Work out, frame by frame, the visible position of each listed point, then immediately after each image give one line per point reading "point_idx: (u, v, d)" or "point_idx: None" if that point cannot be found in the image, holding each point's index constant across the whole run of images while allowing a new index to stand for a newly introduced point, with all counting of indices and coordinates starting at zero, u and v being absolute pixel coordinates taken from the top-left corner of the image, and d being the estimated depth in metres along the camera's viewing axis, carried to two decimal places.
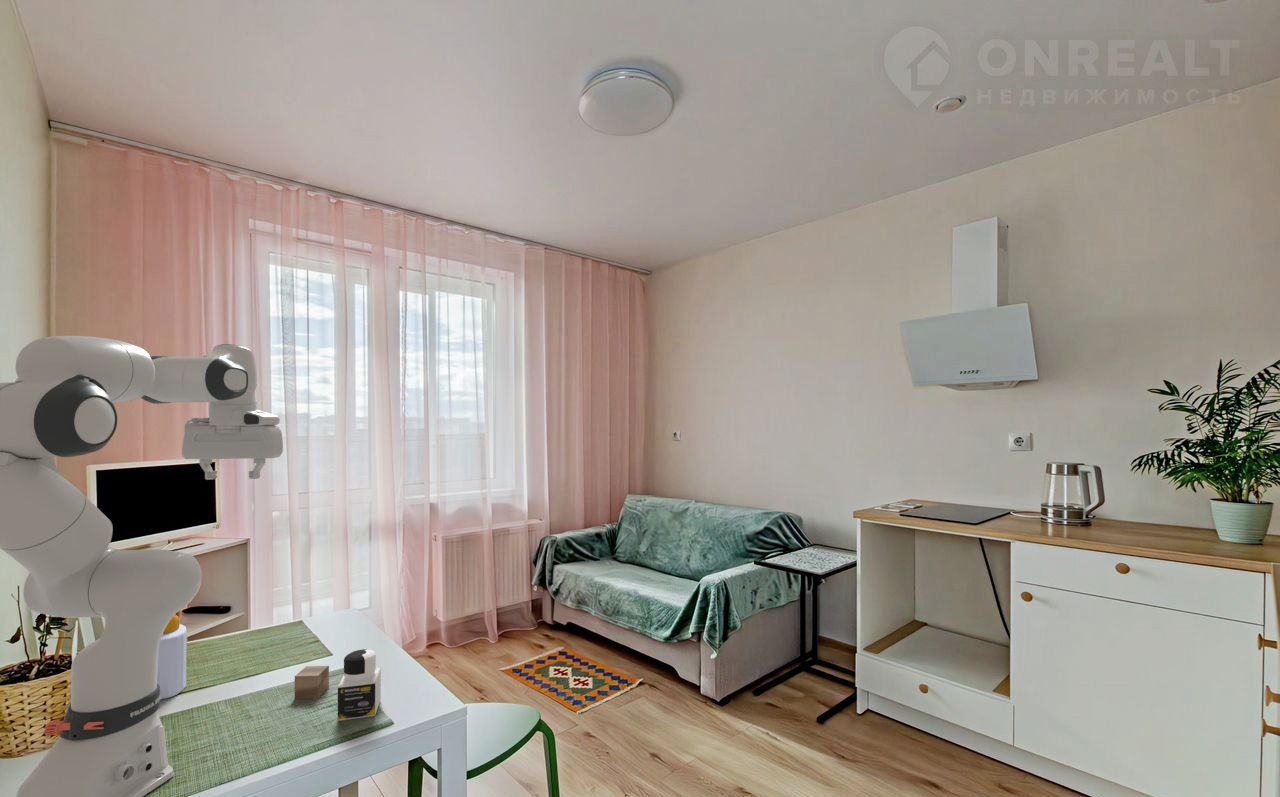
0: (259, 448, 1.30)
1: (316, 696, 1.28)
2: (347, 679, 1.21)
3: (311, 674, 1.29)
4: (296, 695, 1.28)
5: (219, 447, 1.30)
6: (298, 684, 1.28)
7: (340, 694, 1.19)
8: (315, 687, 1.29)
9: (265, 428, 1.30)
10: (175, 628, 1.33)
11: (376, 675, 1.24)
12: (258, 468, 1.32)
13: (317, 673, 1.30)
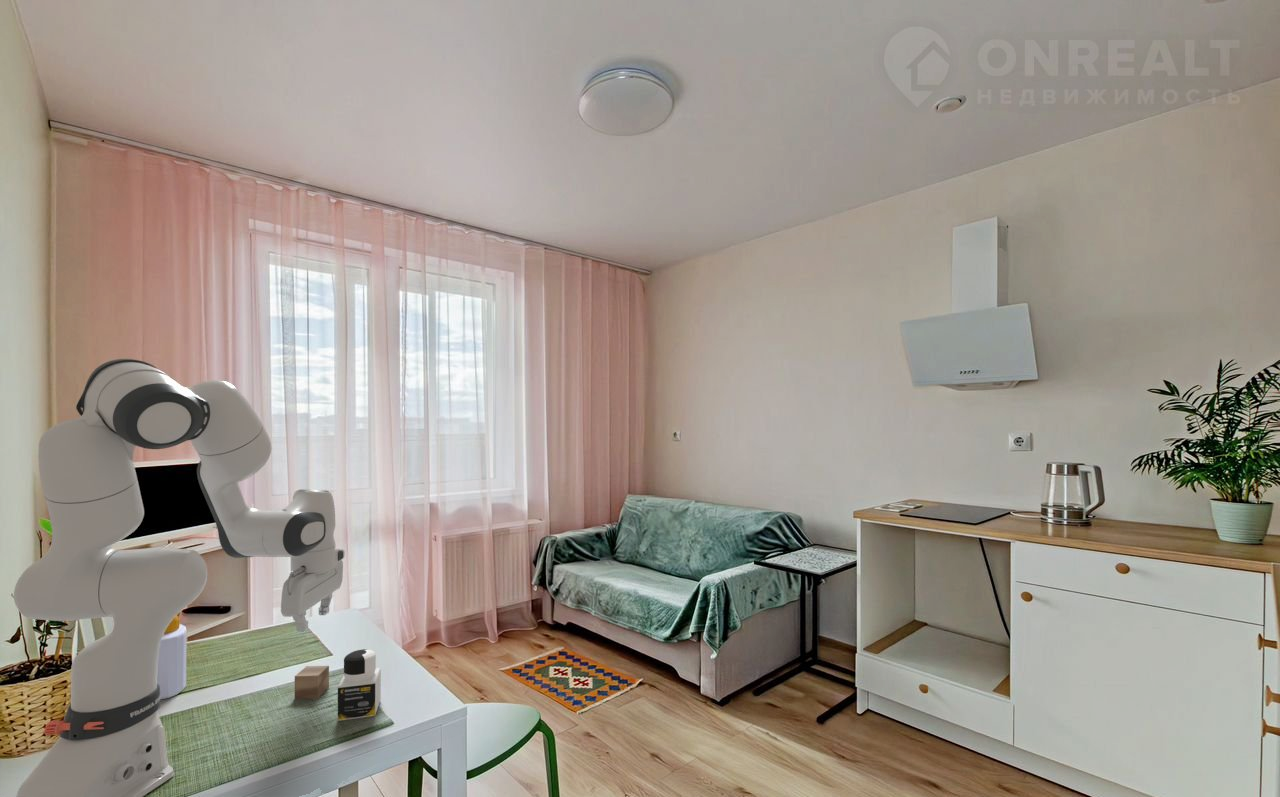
0: (336, 581, 1.38)
1: (316, 696, 1.28)
2: (347, 679, 1.21)
3: (311, 674, 1.29)
4: (296, 695, 1.28)
5: (317, 592, 1.30)
6: (298, 684, 1.28)
7: (340, 694, 1.19)
8: (315, 687, 1.29)
9: None
10: (175, 628, 1.33)
11: (376, 675, 1.23)
12: None
13: (317, 673, 1.30)
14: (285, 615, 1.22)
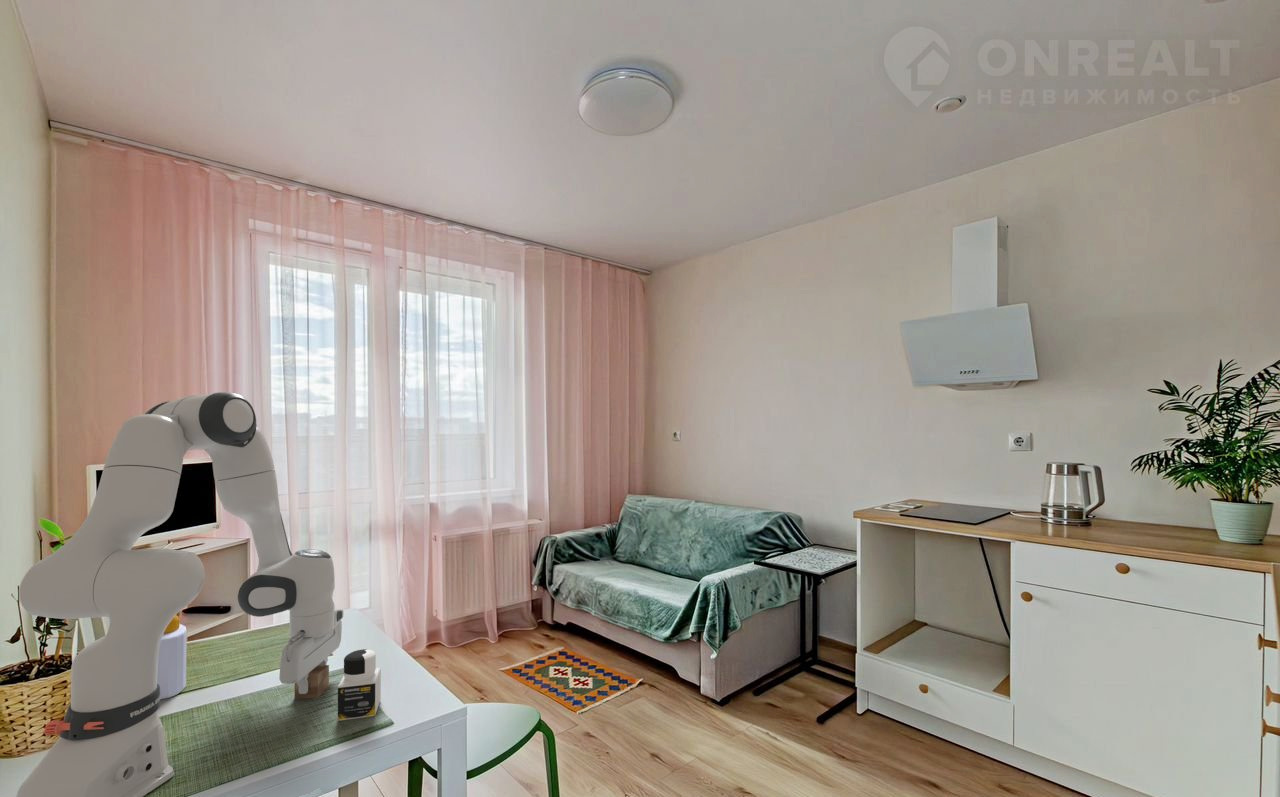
0: (334, 642, 1.38)
1: (316, 696, 1.29)
2: (347, 679, 1.21)
3: (311, 674, 1.29)
4: (296, 694, 1.28)
5: (316, 655, 1.29)
6: None
7: (340, 694, 1.19)
8: (315, 686, 1.29)
9: (340, 620, 1.40)
10: (175, 628, 1.33)
11: (376, 675, 1.24)
12: None
13: (317, 672, 1.30)
14: (284, 682, 1.21)
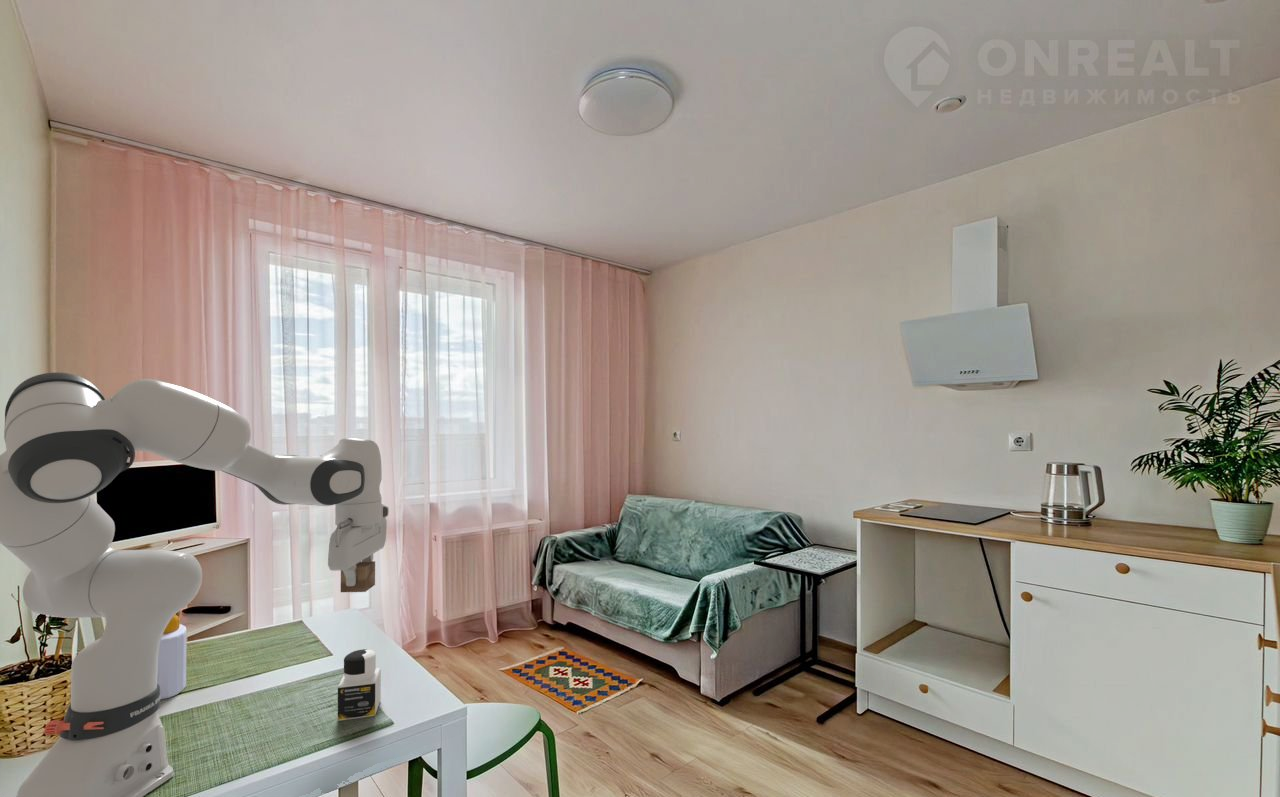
0: (380, 540, 1.30)
1: (363, 589, 1.21)
2: (347, 679, 1.21)
3: (358, 566, 1.21)
4: (342, 588, 1.21)
5: (363, 547, 1.22)
6: (344, 576, 1.21)
7: (340, 694, 1.19)
8: (363, 579, 1.21)
9: (385, 518, 1.32)
10: (175, 628, 1.33)
11: (376, 675, 1.23)
12: None
13: (364, 566, 1.22)
14: (332, 569, 1.14)
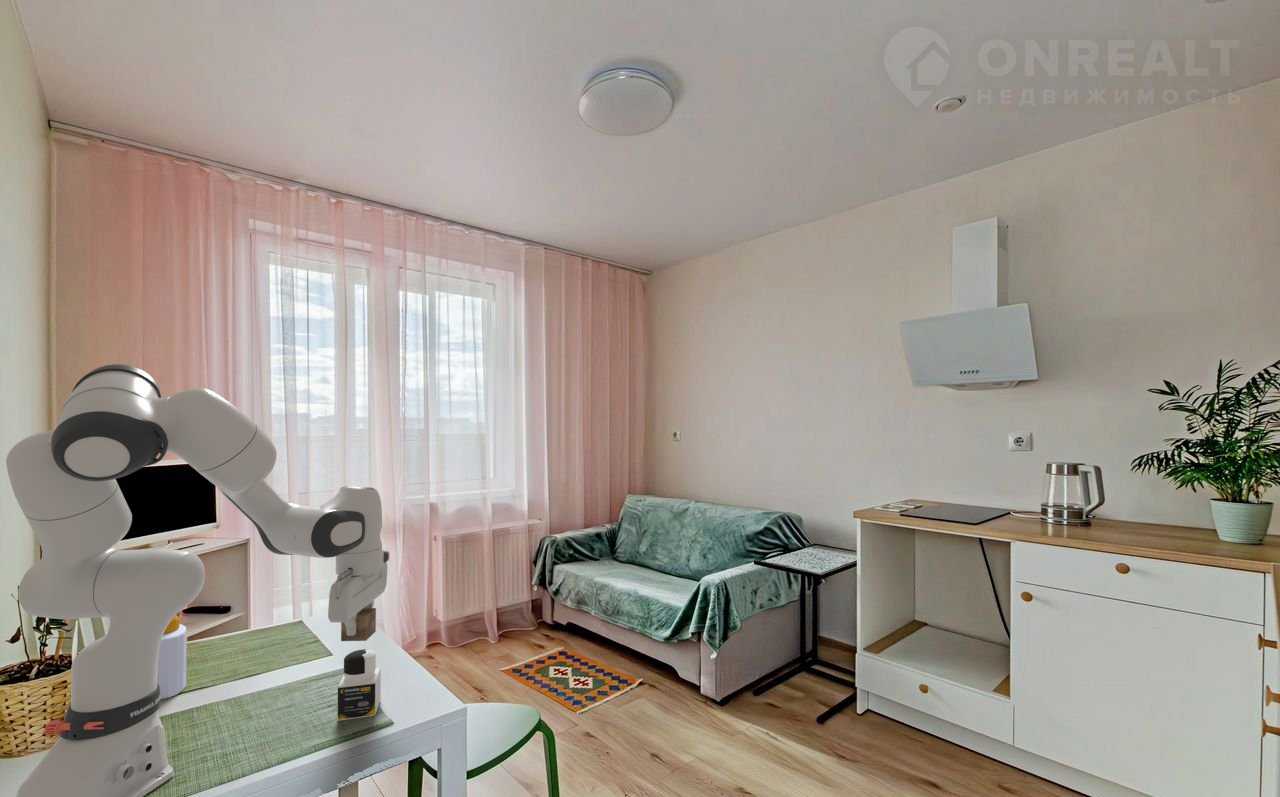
0: (380, 585, 1.30)
1: (364, 638, 1.21)
2: (347, 679, 1.21)
3: (358, 615, 1.21)
4: (343, 637, 1.20)
5: (364, 596, 1.21)
6: None
7: (340, 694, 1.19)
8: (363, 628, 1.21)
9: (386, 563, 1.32)
10: (175, 628, 1.33)
11: (376, 675, 1.23)
12: None
13: (365, 614, 1.22)
14: (333, 621, 1.13)
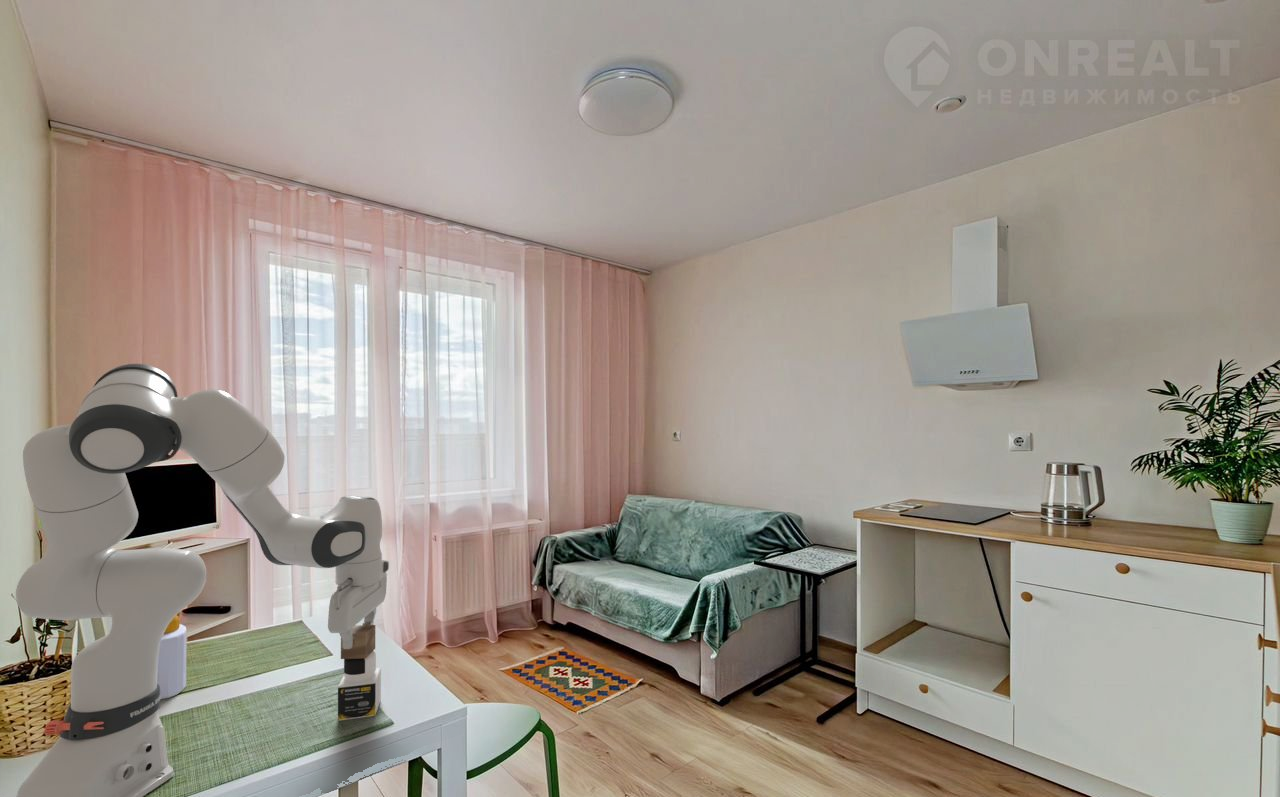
0: (380, 595, 1.30)
1: (364, 656, 1.20)
2: (347, 679, 1.21)
3: (358, 633, 1.21)
4: (342, 655, 1.20)
5: (363, 606, 1.21)
6: None
7: (340, 693, 1.19)
8: (363, 646, 1.21)
9: None
10: (175, 628, 1.33)
11: (376, 675, 1.24)
12: None
13: (364, 631, 1.22)
14: (332, 631, 1.13)
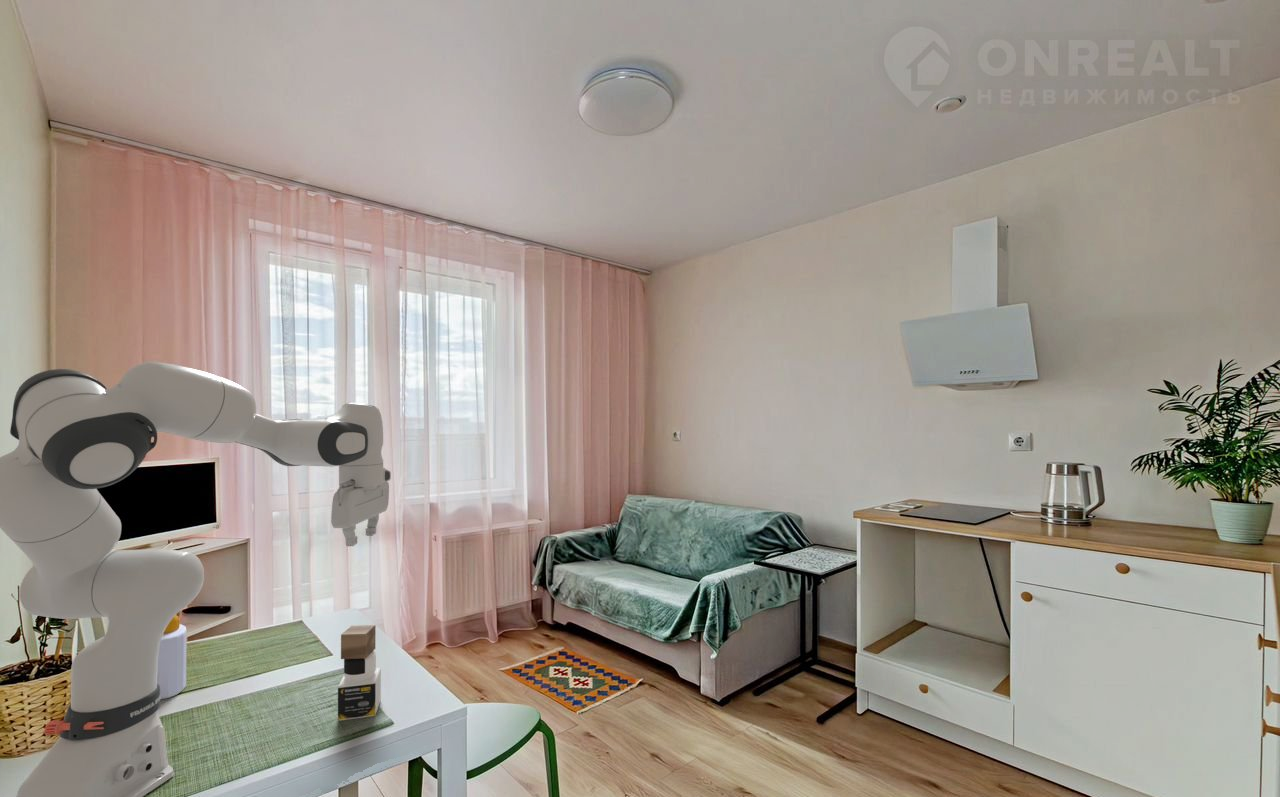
0: (382, 503, 1.35)
1: (364, 656, 1.21)
2: (347, 679, 1.21)
3: (358, 633, 1.21)
4: (342, 655, 1.20)
5: (366, 508, 1.27)
6: (345, 643, 1.20)
7: (340, 694, 1.19)
8: (363, 646, 1.21)
9: (388, 483, 1.37)
10: (175, 628, 1.33)
11: (376, 675, 1.24)
12: None
13: (365, 631, 1.22)
14: (335, 526, 1.19)
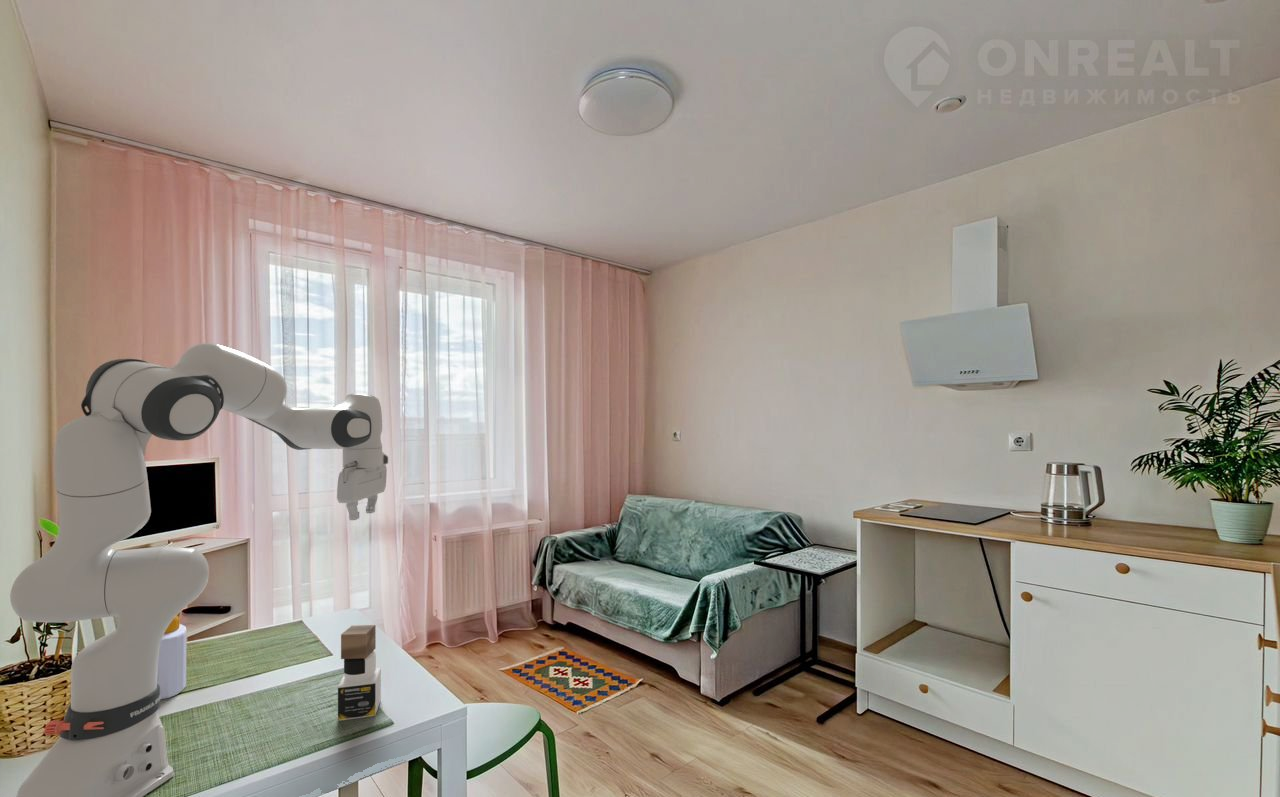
0: (381, 484, 1.51)
1: (364, 656, 1.21)
2: (347, 679, 1.21)
3: (358, 632, 1.21)
4: (343, 655, 1.20)
5: (367, 487, 1.42)
6: (345, 643, 1.20)
7: (340, 694, 1.19)
8: (363, 646, 1.21)
9: None
10: (175, 628, 1.33)
11: (376, 675, 1.24)
12: None
13: (365, 631, 1.22)
14: (341, 501, 1.34)
